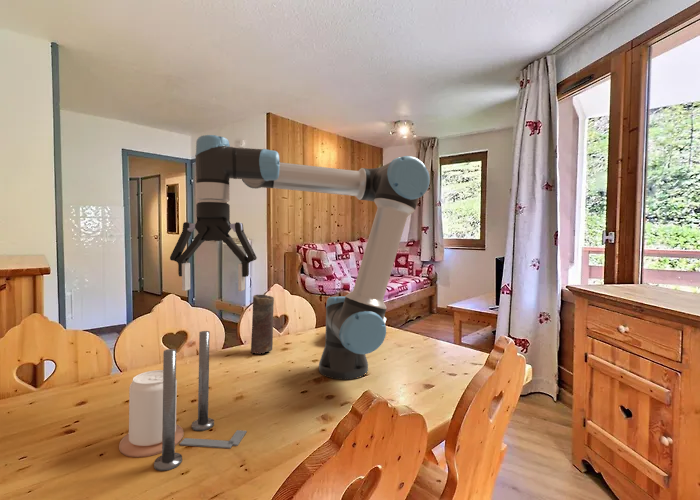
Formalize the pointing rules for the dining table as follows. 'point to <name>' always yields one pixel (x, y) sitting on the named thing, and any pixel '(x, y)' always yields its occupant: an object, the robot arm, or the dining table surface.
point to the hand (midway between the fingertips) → (214, 290)
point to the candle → (262, 324)
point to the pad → (145, 451)
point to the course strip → (215, 441)
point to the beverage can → (146, 408)
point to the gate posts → (169, 396)
